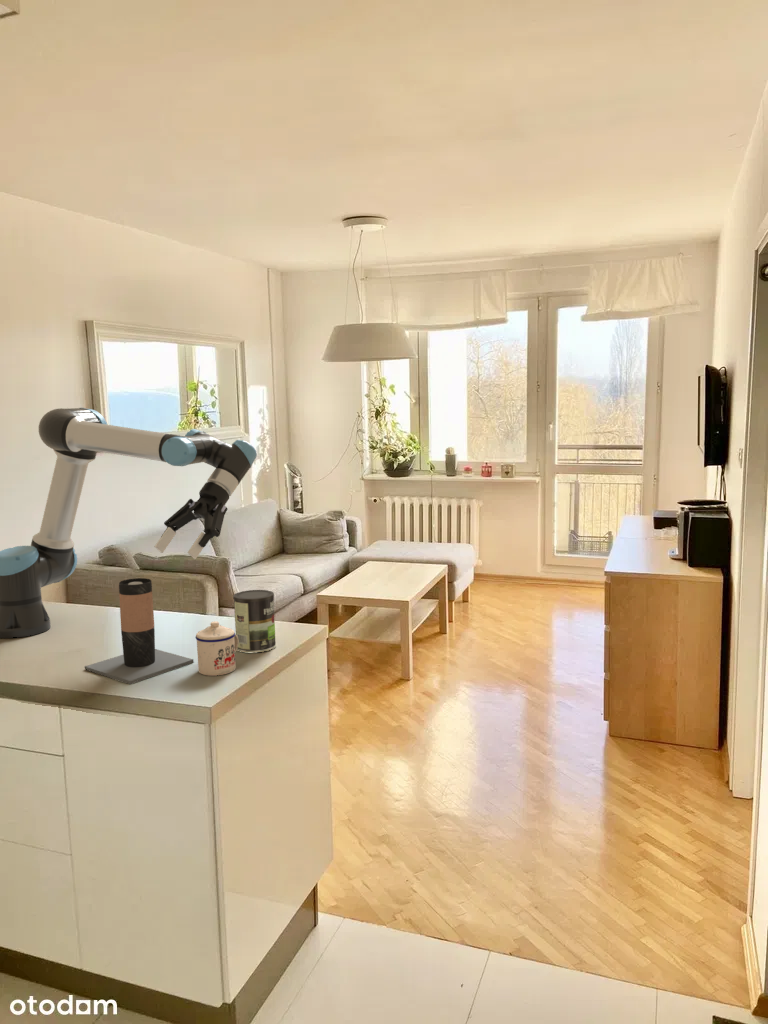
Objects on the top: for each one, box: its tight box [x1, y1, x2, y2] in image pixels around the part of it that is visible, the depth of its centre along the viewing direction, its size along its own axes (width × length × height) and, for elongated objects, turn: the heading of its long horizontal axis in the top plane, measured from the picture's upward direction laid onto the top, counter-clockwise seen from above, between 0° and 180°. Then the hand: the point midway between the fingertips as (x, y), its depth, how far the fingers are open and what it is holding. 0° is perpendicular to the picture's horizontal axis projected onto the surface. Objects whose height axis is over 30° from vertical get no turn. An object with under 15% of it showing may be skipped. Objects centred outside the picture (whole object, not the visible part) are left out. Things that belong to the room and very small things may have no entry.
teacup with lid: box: [195, 620, 239, 677], centre depth 184 cm, size 12×9×12 cm
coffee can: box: [232, 589, 277, 653], centre depth 199 cm, size 10×10×14 cm
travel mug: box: [118, 577, 156, 667], centre depth 186 cm, size 8×8×20 cm
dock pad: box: [84, 648, 194, 685], centre depth 188 cm, size 18×18×1 cm
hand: (174, 552), depth 200 cm, fingers open, 13 cm apart
